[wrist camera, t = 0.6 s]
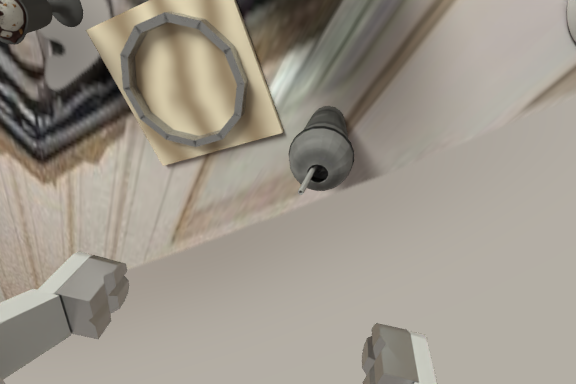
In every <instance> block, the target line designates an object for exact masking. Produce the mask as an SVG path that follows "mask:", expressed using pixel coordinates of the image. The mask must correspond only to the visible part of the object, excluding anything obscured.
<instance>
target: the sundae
mask: <svg viewBox="0 0 576 384" xmlns="http://www.w3.org/2000/svg"><path fill="white" fill-rule="evenodd" d="M52 14H53V16H54V17H55V18H56V19H57V20H58V21H59V22H61V23H62V24H63V25H66V26H68V27H75V26H77V25H78V24H80V22H81V21H82V18H83V9H82V6H81V2H80V0H0V41H1V42H4V43H7V44H19V43H20V42H21V41H22V40H23V39H24V37H25V35H26V34H27V33H29V32H32V31H35V30H38V29H41V28H43V27H45V26H47V25H48V24H49V23H50V22H51V20H52Z"/></svg>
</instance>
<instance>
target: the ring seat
mask: <svg viewBox="0 0 576 384" xmlns="http://www.w3.org/2000/svg"><path fill="white" fill-rule="evenodd" d="M86 31H87V33H88V35H89V37H90V38H91V40H92V42H93V44H94V45H95V47H96V49H97V51H98V52H99V54H100V56H101V58H102V60H103V61H104V63H105V65H106V67H107V68H108V70H109V72H110V74H111V75H112V77H113V79H114V81H115V82H116V84H117V86H118V88H119V89H120V91H121V93H122V95H123V96H124V98H125V100H126V102H127V104H128V105H129V107H130V109H131V111H132V112H133V114H134V116H135V118H136V119H137V121H138V123H139V125H140V126H141V128H142V130H143V132H144V133H145V135H146V137H147V139H148V140H149V142H150V144H151V146H152V148H153V149H154V151H155V153H156V155H157V156H158V158H159V160H160V162H161V163H162V165H163V166H164V165H168V164H172V163H175V162H179V161H182V160H186V159H190V158H193V157H197V156H201V155H204V154H208V153H211V152H215V151H219V150H222V149H226V148H230V147H233V146H237V145H240V144H244V143H248V142H251V141H255V140H259V139H262V138H266V137H269V136H273V135H277V134H280V133H283V131H284V130H283V128H282V125H281V122H280V119H279V117H278V114H277V111H276V108H275V106H274V103H273V100H272V98H271V95H270V92H269V89H268V87H267V84H266V81H265V78H264V76H263V73H262V70H261V67H260V65H259V62H258V59H257V56H256V54H255V51H254V48H253V45H252V43H251V40H250V37H249V34H248V32H247V29H246V26H245V23H244V21H243V18H242V15H241V12H240V10H239V7H238V4H237V1H236V0H149V1H147V2H145V3H143V4H141V5H139V6H137V7H134V8H132V9H130V10H128V11H126V12H124V13H122V14H119V15H117V16H115V17H113V18H111V19H109V20H107V21H105V22H102V23H100V24H98V25H96V26H94V27H92V28H90V29H88V30H86Z"/></svg>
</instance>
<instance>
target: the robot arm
mask: <svg viewBox="0 0 576 384" xmlns="http://www.w3.org/2000/svg"><path fill="white" fill-rule="evenodd" d="M567 21H568V26H569V30H570V33H571V35H572V37H573V39H574V40H575V42H576V0H568V5H567ZM126 272H127V267H126V264H125V263H121V262H117V261H114V260H110V259H106V258H103V257H99V256H95V255H91V254H87V253H83V252H77V253H75V254H73V255H72V256H71V257H70V258H69V259H68V260H67V261H66V262H65V263H64V264H63V265H62V266H61V267H60V268H59V269H58V270H57V271H56V272H55V273H54V274H53V275H52V276H51V277H50V278H49V279H48V280H47V281H46V282H45V283H44V284H43V285H42V286H41V287H40V288H39V289H38V290H35V289H31V290H29V291H27V292H24V293H22V294H20V295H17V296H15V297H13V298H10V299H8V300H5V301H3V302H1V303H0V384H5V383H4V381H3V379H5V378H6V377H8V376H9V375H11V374H12V373H14V372H15V371H17V370H18V369H20V368H22V367H23V366H25V365H26V364H28V363H29V362H31V361H32V360H34V359H35V358H37V357H38V356H40V355H42V354H43V353H45V352H46V351H48V350H49V349H51V348H52V347H54V346H55V345H57V344H58V343H60V342H61V341H63V340H65V339H66V338H68V337H69V336H71V333H72V334H76V335H81V336H85V337H90V338H95V339H99V337H100V336H101V334H102V333H103V332H104V330H105V329H106V327H107V326H108V325H109V323H110V322H111V313H113V312H114V311H116V310H118V309H120V307H121V306H122V304H123V302H124V301H125V298H126V296H127V294H128V289H129V281H128V279H127V278H126V277H125V276H124V274H125V273H126ZM362 368H363V370H364V372H365V373H366V375H367V376H366V378H365V379H364V381H363V384H437V381H436V376H435V372H434V368H433V363H432V359H431V354H430V350H429V346H428V341H427V338H426V336H425V335H424V334H421V333H416V332H412V331H407V330H405V329H400V328H396V327H392V326H387V325H383V324H378V323H376V324H375V325H374V326H373V328H372V336H371V337H368V338H367V340H366V342H365V344H364V349H363V353H362Z"/></svg>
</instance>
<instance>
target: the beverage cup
mask: <svg viewBox="0 0 576 384" xmlns="http://www.w3.org/2000/svg"><path fill="white" fill-rule="evenodd" d="M289 161H290V169H291V171H292V173H293V175H294V177H295V178H296V179H297V181H298V182H299V183H300V184H302V185H301V187H300V189H299V191H298V194H299V195H302V194H303V193H304V191H305V189H306V187H307V188H308V189H312V190H316V191H325V190H329V189H332V188H335V187H336V186H338V185H339V184H341V183H342V182H343V181H344V180H345V178H346V177H347V176H348V174H349V172H350V170H351V168H352V165H353V162H354V150H353V148H352V145H351V142H350V141H349V139H348V135H347V129H346V124H345V120H344V117H343V115H342V113H341V112H340V111H339V110H338V109H336V108H335V107H331V106H325V107H322V108H320V109H318V110H317V111H316V112H315V113H314V114H313V116H312V117H311V119H310V121H309V122H308V124H307V125H306V127H305V128H304V130H303V131H302V132H301V133H299V134H298V135H297V136H296V137H295V138H294V140H293V142H292V143H291V145H290V150H289Z"/></svg>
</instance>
